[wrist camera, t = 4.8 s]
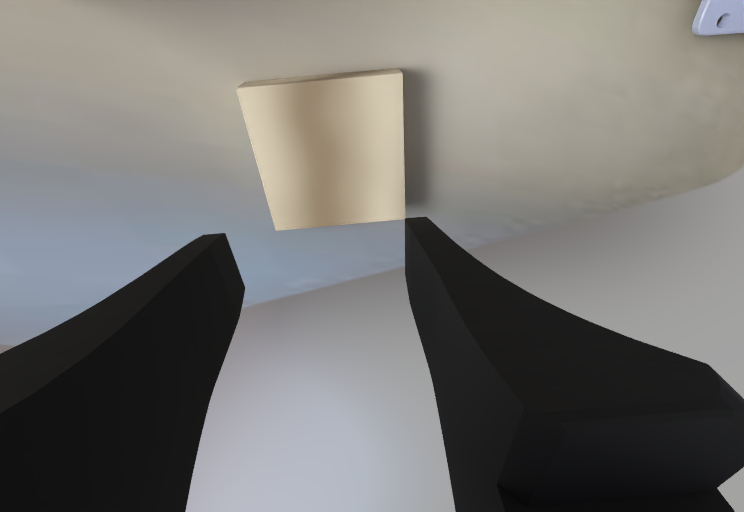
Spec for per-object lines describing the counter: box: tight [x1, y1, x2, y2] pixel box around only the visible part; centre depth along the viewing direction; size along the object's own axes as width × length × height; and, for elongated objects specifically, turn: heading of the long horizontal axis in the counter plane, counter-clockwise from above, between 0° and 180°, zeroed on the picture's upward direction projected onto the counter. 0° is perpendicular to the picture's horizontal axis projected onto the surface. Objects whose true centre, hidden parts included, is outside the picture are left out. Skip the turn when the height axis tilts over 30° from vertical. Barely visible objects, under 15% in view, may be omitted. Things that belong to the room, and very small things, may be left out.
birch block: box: [236, 68, 405, 231], centre depth 17 cm, size 7×7×2 cm
